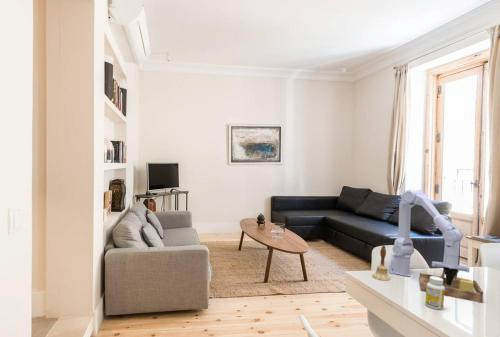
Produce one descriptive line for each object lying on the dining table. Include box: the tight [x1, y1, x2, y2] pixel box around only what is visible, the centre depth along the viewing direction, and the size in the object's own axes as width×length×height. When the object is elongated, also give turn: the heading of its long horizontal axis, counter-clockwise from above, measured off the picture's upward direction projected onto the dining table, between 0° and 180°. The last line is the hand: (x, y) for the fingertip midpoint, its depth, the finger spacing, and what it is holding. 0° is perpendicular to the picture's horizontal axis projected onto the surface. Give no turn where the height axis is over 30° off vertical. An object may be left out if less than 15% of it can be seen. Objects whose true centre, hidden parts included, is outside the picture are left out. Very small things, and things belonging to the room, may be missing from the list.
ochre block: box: [457, 277, 474, 292], centre depth 148 cm, size 5×5×4 cm
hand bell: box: [372, 245, 391, 282], centre depth 162 cm, size 8×8×16 cm
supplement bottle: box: [425, 275, 445, 310], centre depth 132 cm, size 6×6×11 cm
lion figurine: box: [440, 268, 460, 279], centre depth 165 cm, size 15×5×9 cm, turn 132°
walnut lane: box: [418, 272, 484, 304], centre depth 150 cm, size 23×16×4 cm
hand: (448, 284), depth 150 cm, fingers closed
